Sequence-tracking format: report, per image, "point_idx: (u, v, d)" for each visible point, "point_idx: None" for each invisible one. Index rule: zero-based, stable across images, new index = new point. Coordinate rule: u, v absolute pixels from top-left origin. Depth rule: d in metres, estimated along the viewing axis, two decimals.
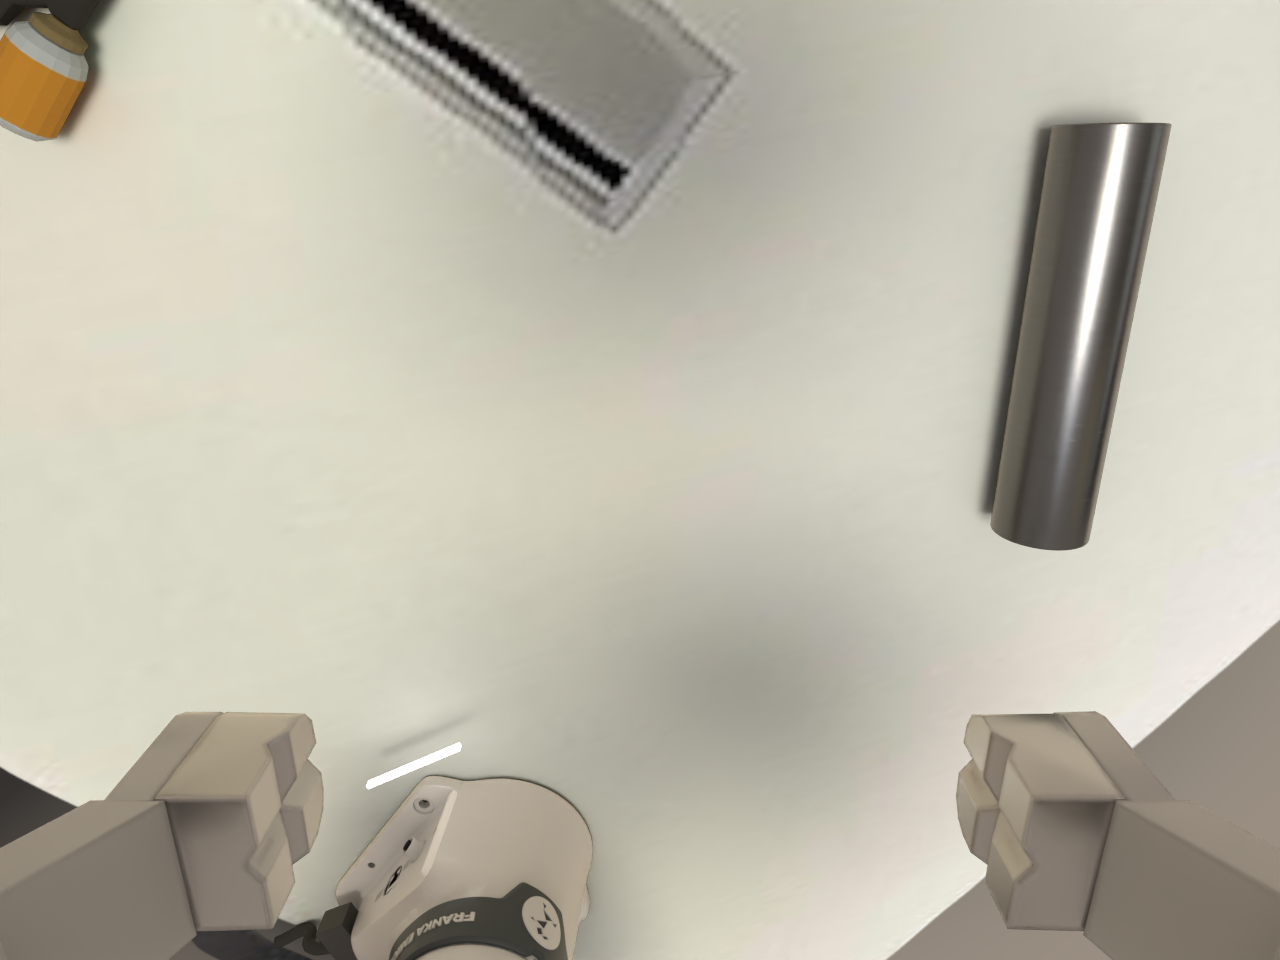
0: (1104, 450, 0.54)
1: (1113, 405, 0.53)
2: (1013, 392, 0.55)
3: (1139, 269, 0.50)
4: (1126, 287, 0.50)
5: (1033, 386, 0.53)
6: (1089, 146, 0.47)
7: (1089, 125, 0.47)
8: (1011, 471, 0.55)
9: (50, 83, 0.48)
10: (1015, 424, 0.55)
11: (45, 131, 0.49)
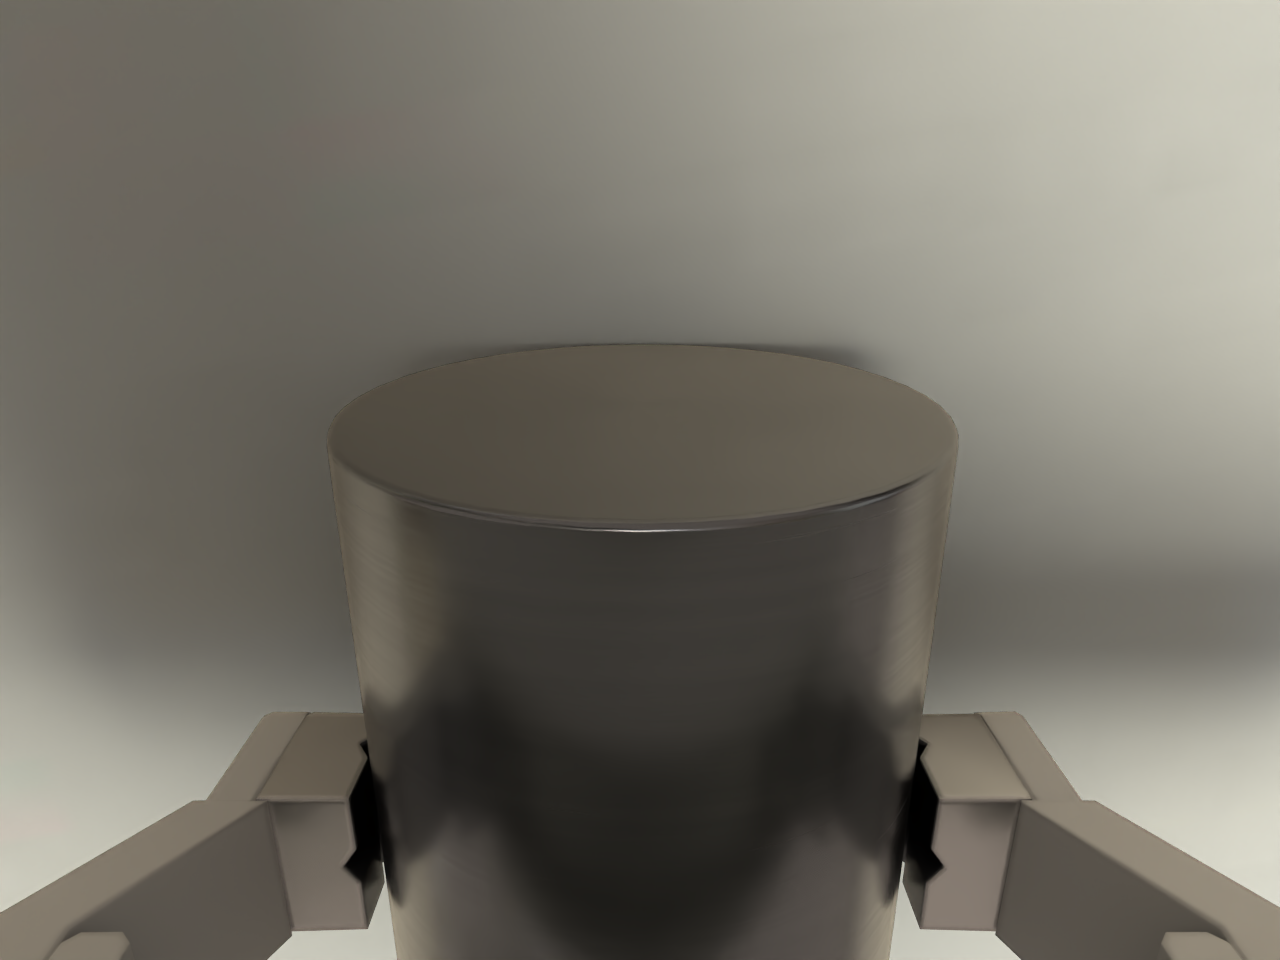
0: None
1: None
2: None
3: None
4: None
5: None
6: (390, 618, 0.07)
7: (364, 487, 0.07)
8: None
9: None
10: None
11: None
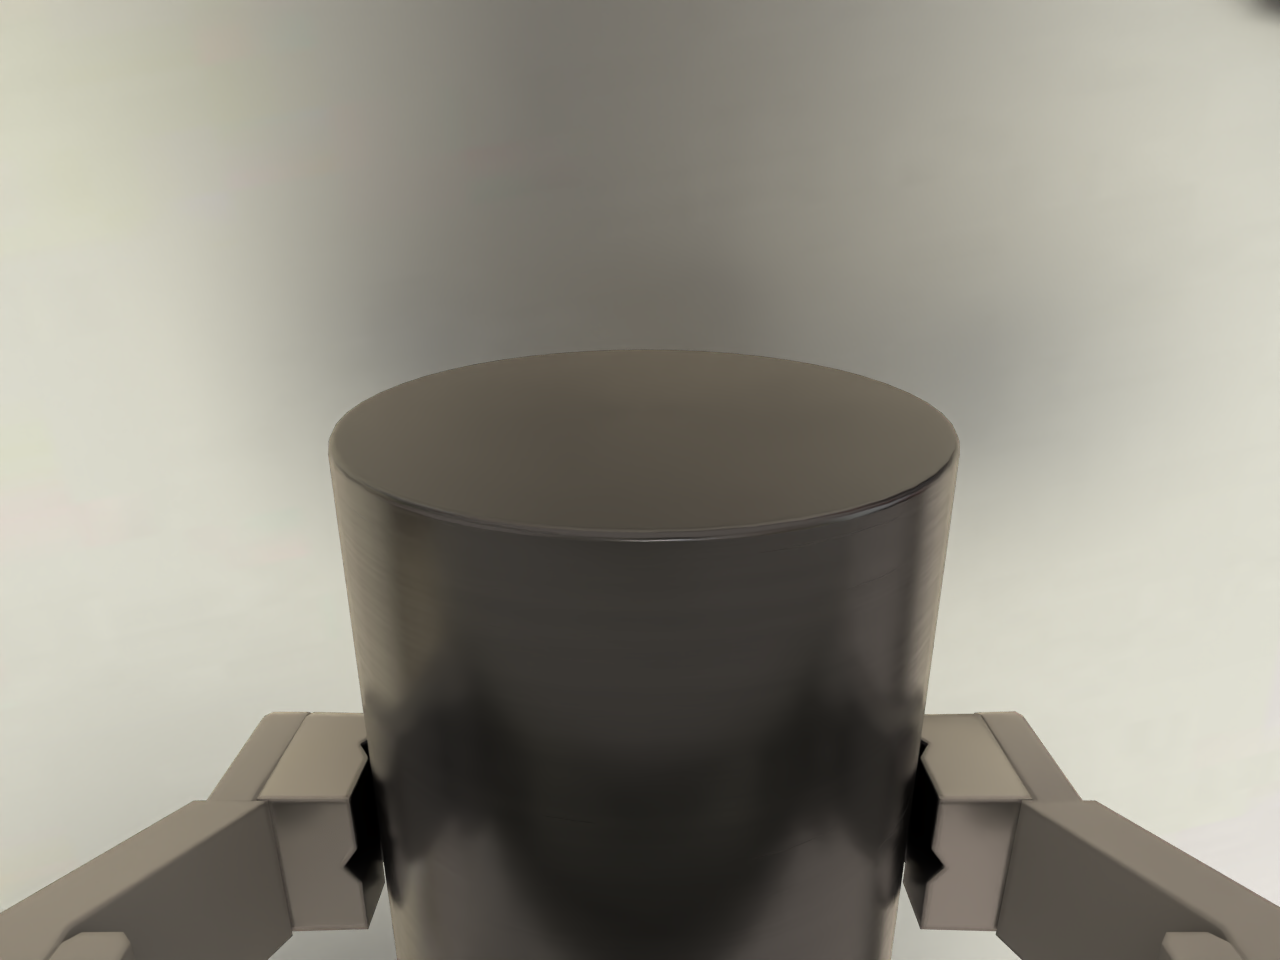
0: None
1: None
2: None
3: None
4: None
5: None
6: (393, 625, 0.07)
7: (366, 495, 0.07)
8: None
9: None
10: None
11: None
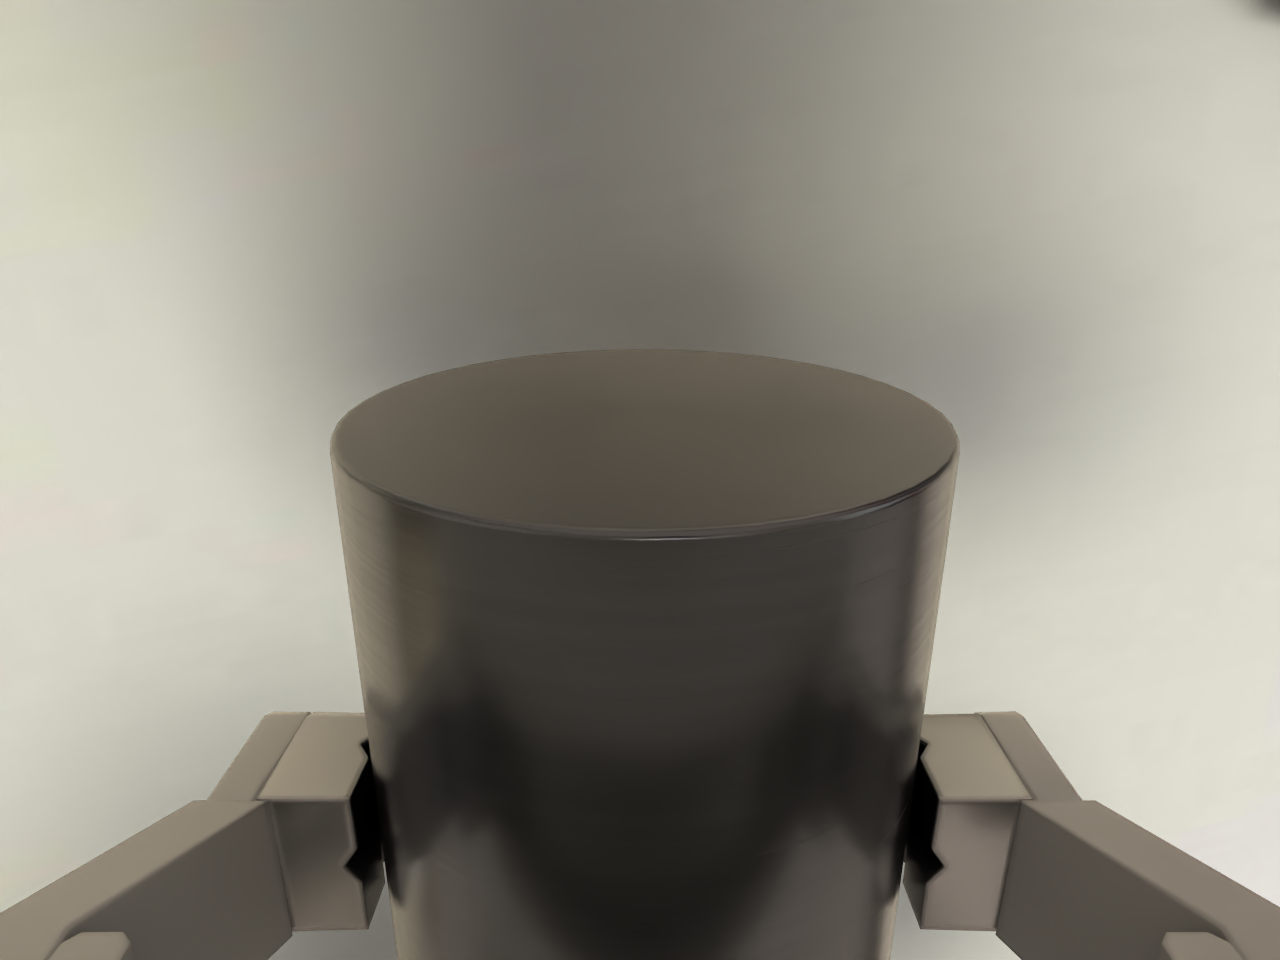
0: None
1: None
2: None
3: None
4: None
5: None
6: (395, 625, 0.07)
7: (368, 494, 0.07)
8: None
9: None
10: None
11: None
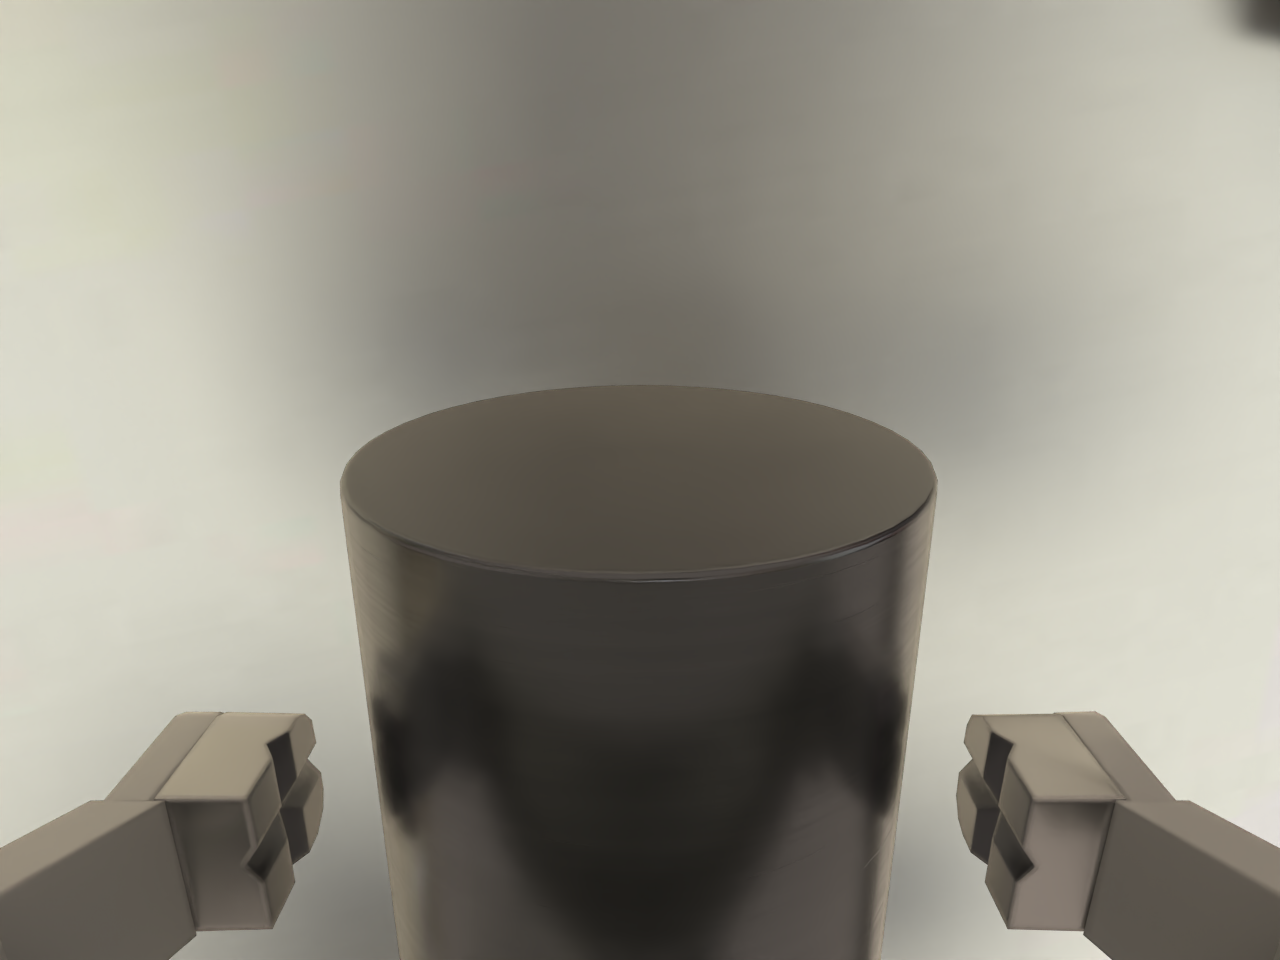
0: None
1: None
2: None
3: None
4: None
5: None
6: (403, 660, 0.07)
7: (378, 537, 0.07)
8: None
9: None
10: None
11: None
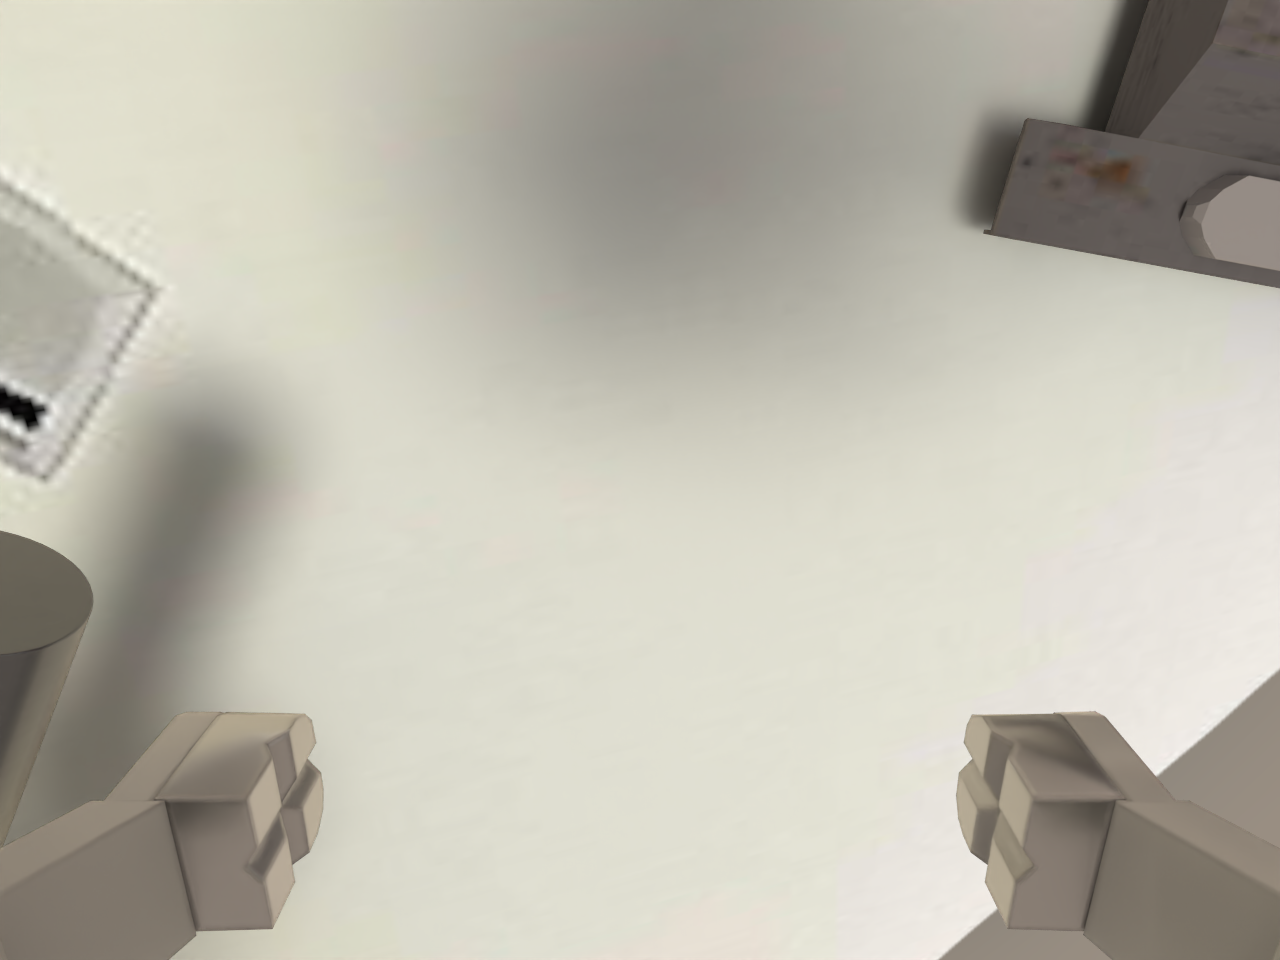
0: None
1: None
2: None
3: None
4: None
5: None
6: None
7: None
8: None
9: None
10: None
11: None
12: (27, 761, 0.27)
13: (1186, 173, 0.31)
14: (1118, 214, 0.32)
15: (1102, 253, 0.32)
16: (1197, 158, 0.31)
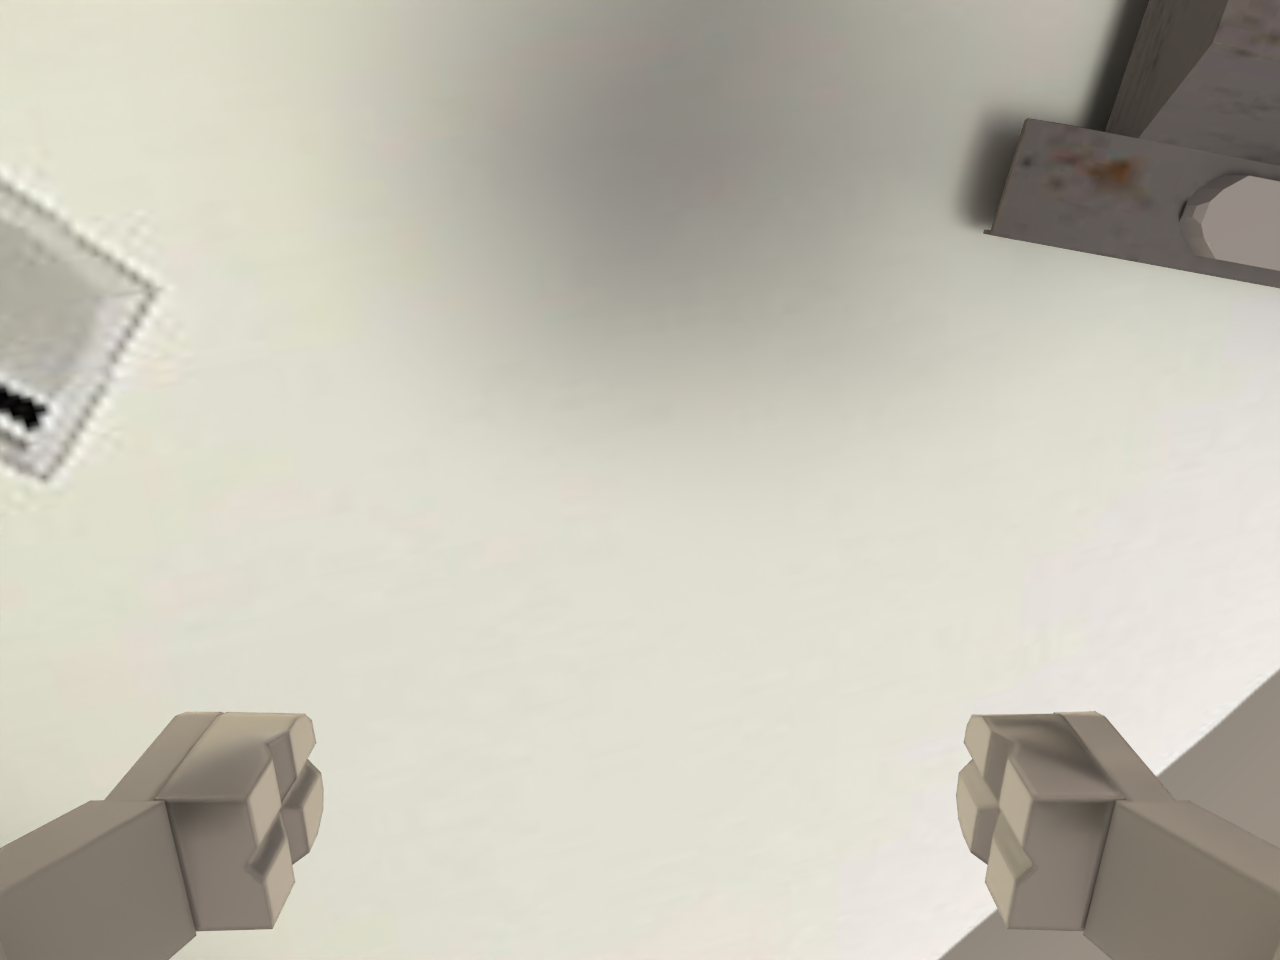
0: None
1: None
2: None
3: None
4: None
5: None
6: None
7: None
8: None
9: None
10: None
11: None
12: None
13: (1186, 173, 0.31)
14: (1118, 214, 0.32)
15: (1102, 253, 0.32)
16: (1197, 158, 0.31)
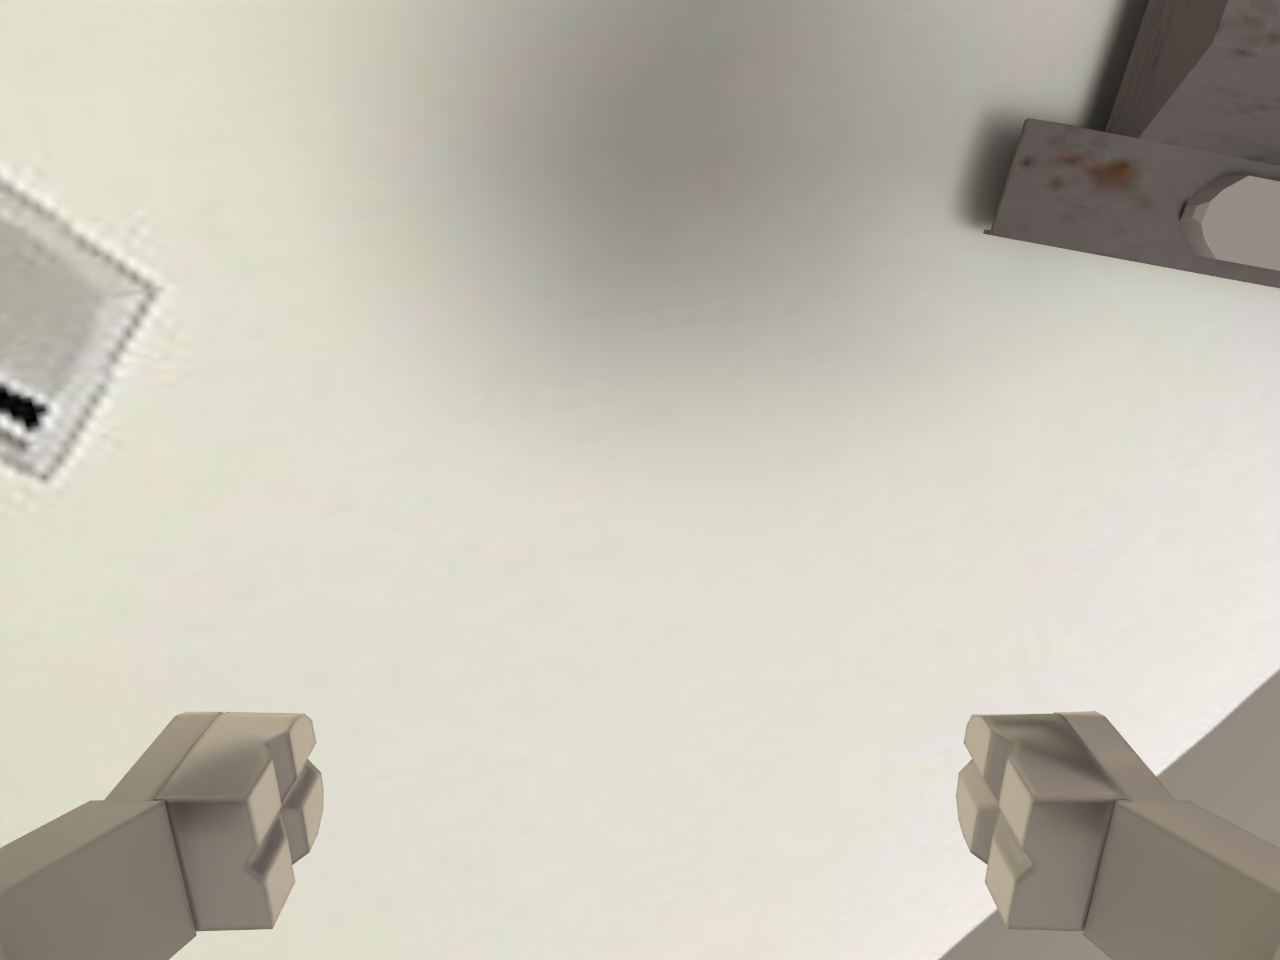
0: None
1: None
2: None
3: None
4: None
5: None
6: None
7: None
8: None
9: None
10: None
11: None
12: None
13: (1186, 173, 0.31)
14: (1118, 214, 0.32)
15: (1102, 253, 0.32)
16: (1197, 158, 0.31)
